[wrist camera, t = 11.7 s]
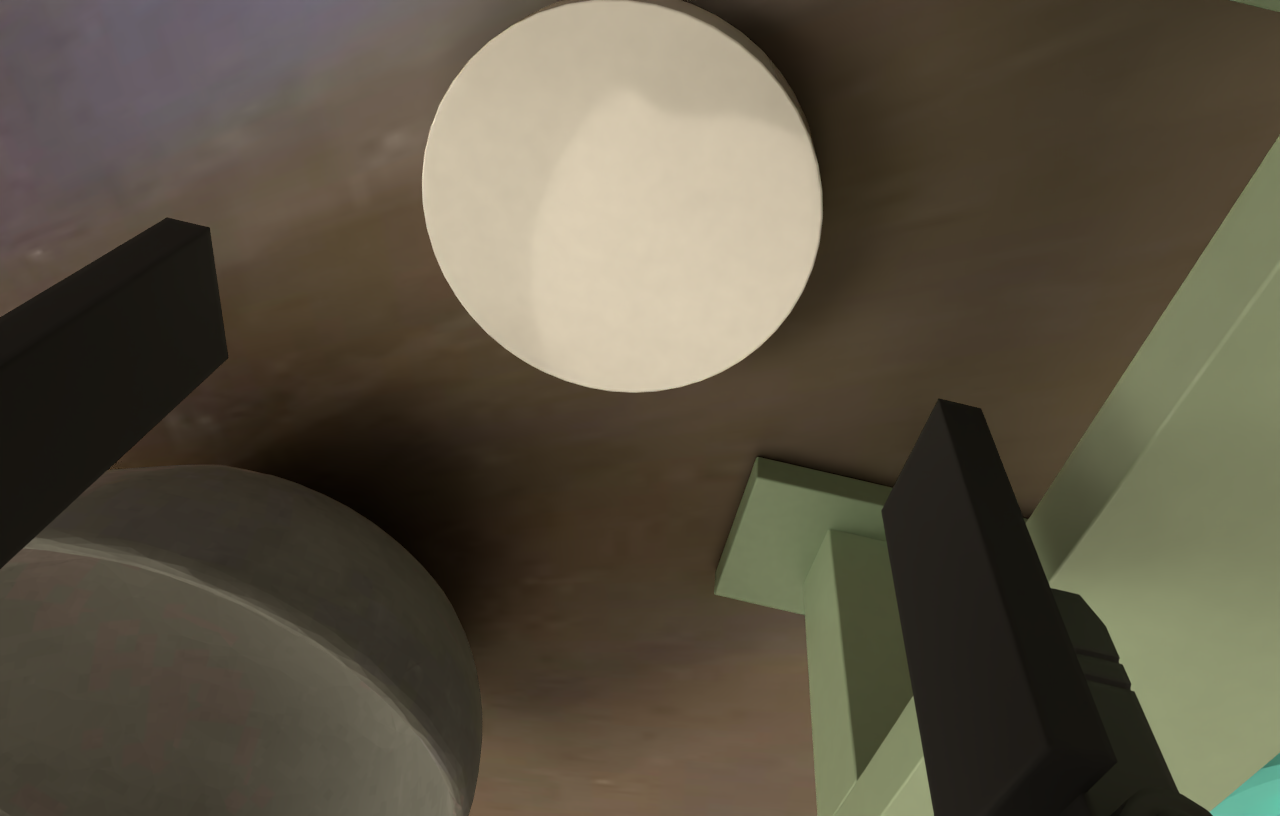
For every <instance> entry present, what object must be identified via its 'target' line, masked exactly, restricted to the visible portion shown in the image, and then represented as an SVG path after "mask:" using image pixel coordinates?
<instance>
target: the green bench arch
mask: <svg viewBox="0 0 1280 816" xmlns="http://www.w3.org/2000/svg"><path fill="white" fill-rule="evenodd" d="M1230 1H1234V2H1238V3H1243V4H1247V5H1251V6H1255V7H1260V8H1264V9H1268V10H1273V11H1277V12H1280V0H1230ZM892 489H893V488H891V487H887V486H883V485H878V484H874V483H870V482H865V481H861V480H857V479H852V478H848V477H844V476H839V475H835V474H831V473H826V472H822V471H818V470H813V469H809V468H805V467H800V466H796V465H792V464H787V463H783V462H778V461H774V460H770V459H765V458H761V457H757V458H756V460H755V463H754V466H753V469H752V471H751V474H750V477H749V480H748V483H747V485H746V488H745V491H744V494H743V497H742V499H741V502H740V505H739V508H738V511H737V513H736V516H735V519H734V522H733V525H732V527H731V530H730V533H729V536H728V539H727V541H726V544H725V547H724V550H723V553H722V555H721V558H720V561H719V564H718V567H717V569H716V572H715V589H714V593H715V595H719V596H723V597H728V598H732V599H736V600H741V601H745V602H750V603H754V604H758V605H763V606H767V607H771V608H776V609H780V610H784V611H789V612H793V613H798V614H802V615H805V624H806V640H807V656H808V672H809V688H810V703H811V719H812V735H813V751H814V767H815V782H816V798H817V814H818V816H934V812H933V807H932V801H931V795H930V789H929V783H928V778H927V772H926V766H925V760H924V755H923V749H922V743H921V737H920V732H919V726H918V720H917V714H916V709H915V703H914V697H913V691H912V686H911V680H910V674H909V668H908V662H907V657H906V651H905V645H904V639H903V634H902V628H901V622H900V616H899V611H898V605H897V599H896V593H895V588H894V582H893V576H892V570H891V564H890V559H889V553H888V547H887V541H886V536H885V530H884V524H883V518H882V513H881V510H882V508H883V506H884V504H885V502H886V500H887V499H888V497H889V495H890V493H891V491H892ZM1024 521H1025V523H1026V526H1027V529H1028V531H1029V534H1030V536H1031V539H1032V541H1033V544H1034V547H1035V549H1036V552H1037V554H1038V557H1039V560H1040V562H1041V565H1042V567H1043V570H1044V572H1045V575H1046V578H1047V580H1048V583H1049V585H1050V588H1053V589H1058V590H1062V591H1066V592H1070V593H1075V594H1079V595H1080V596H1081V597H1082V598H1083V599H1084V600H1085V602H1086V603H1087V604H1088V605H1089V606H1090V608H1091V609H1092V610H1093V611H1094V612H1095V614H1096V615H1097V616H1098V617H1099V618H1100V620H1101V621H1102V622H1103V623H1104V624H1105V626H1106V628H1107V630H1108V632H1109V634H1110V637H1111V639H1112V641H1113V643H1114V646H1115V648H1116V650H1117V653H1118V655H1119V657H1120V659H1119V664H1123V666H1124V668H1125V671H1126V673H1127V675H1128V678H1129V680H1130V682H1131V684H1132V685H1131V691H1135V693H1136V696H1137V698H1138V700H1139V703H1140V705H1141V707H1142V709H1143V712H1144V714H1145V716H1146V718H1147V721H1148V723H1149V725H1150V728H1151V730H1152V732H1153V734H1154V737H1155V739H1156V741H1157V743H1158V746H1159V748H1160V750H1161V753H1162V755H1163V757H1164V759H1165V762H1166V764H1167V766H1168V769H1169V771H1170V773H1171V775H1172V778H1173V780H1174V782H1175V784H1176V787H1177V789H1178V791H1179V793H1180V794H1183V795H1184V796H1186V797H1187V798H1189V799H1191V800H1192V801H1194V802H1195V803H1197V804H1198V805H1200V806H1202V807H1203V808H1205V809H1206V810H1207V811H1209V812H1210V811H1211V810H1212V809H1214V808H1215V807H1216V806H1217V805H1218V804H1219V803H1221V802H1222V801H1223V800H1224V799H1225V798H1227V797H1228V796H1229V795H1230V794H1231V793H1233V792H1234V791H1235V790H1236V789H1237V788H1238V787H1240V786H1241V785H1242V784H1243V783H1244V782H1246V781H1247V780H1248V779H1249V778H1250V777H1252V776H1253V775H1254V774H1255V773H1256V772H1257V771H1259V770H1260V769H1261V768H1262V767H1263V766H1265V765H1266V764H1267V763H1268V762H1269V761H1270V760H1272V759H1273V758H1274V757H1275V756H1276V755H1278V754H1279V753H1280V135H1279V137H1278V138H1277V140H1276V141H1275V143H1274V144H1273V146H1272V147H1271V149H1270V150H1269V152H1268V154H1267V155H1266V157H1265V158H1264V160H1263V161H1262V163H1261V164H1260V166H1259V167H1258V169H1257V170H1256V172H1255V173H1254V175H1253V176H1252V178H1251V180H1250V181H1249V183H1248V184H1247V186H1246V187H1245V189H1244V190H1243V192H1242V193H1241V195H1240V196H1239V198H1238V199H1237V201H1236V202H1235V204H1234V206H1233V207H1232V209H1231V210H1230V212H1229V213H1228V215H1227V216H1226V218H1225V219H1224V221H1223V222H1222V224H1221V225H1220V227H1219V228H1218V230H1217V232H1216V233H1215V235H1214V236H1213V238H1212V239H1211V241H1210V242H1209V244H1208V245H1207V247H1206V248H1205V250H1204V251H1203V253H1202V254H1201V256H1200V258H1199V259H1198V261H1197V262H1196V264H1195V265H1194V267H1193V268H1192V270H1191V271H1190V273H1189V274H1188V276H1187V277H1186V279H1185V280H1184V282H1183V284H1182V285H1181V287H1180V288H1179V290H1178V291H1177V293H1176V294H1175V296H1174V297H1173V299H1172V300H1171V302H1170V303H1169V305H1168V307H1167V308H1166V310H1165V311H1164V313H1163V314H1162V316H1161V317H1160V319H1159V320H1158V322H1157V323H1156V325H1155V326H1154V328H1153V329H1152V331H1151V333H1150V334H1149V336H1148V337H1147V339H1146V340H1145V342H1144V343H1143V345H1142V346H1141V348H1140V349H1139V351H1138V352H1137V354H1136V355H1135V357H1134V359H1133V360H1132V362H1131V363H1130V365H1129V366H1128V368H1127V369H1126V371H1125V372H1124V374H1123V375H1122V377H1121V378H1120V380H1119V381H1118V383H1117V385H1116V386H1115V388H1114V389H1113V391H1112V392H1111V394H1110V395H1109V397H1108V398H1107V400H1106V401H1105V403H1104V404H1103V406H1102V407H1101V409H1100V411H1099V412H1098V414H1097V415H1096V417H1095V418H1094V420H1093V421H1092V423H1091V424H1090V426H1089V427H1088V429H1087V430H1086V432H1085V433H1084V435H1083V437H1082V438H1081V440H1080V441H1079V443H1078V444H1077V446H1076V447H1075V449H1074V450H1073V452H1072V453H1071V455H1070V456H1069V458H1068V459H1067V461H1066V463H1065V464H1064V466H1063V467H1062V469H1061V470H1060V472H1059V473H1058V475H1057V476H1056V478H1055V479H1054V481H1053V482H1052V484H1051V486H1050V487H1049V489H1048V490H1047V492H1046V493H1045V495H1044V496H1043V498H1042V499H1041V501H1040V502H1039V504H1038V505H1037V507H1036V508H1035V510H1034V512H1033V513H1032V515H1031V516H1030V518H1029V519H1026V518H1024Z"/></svg>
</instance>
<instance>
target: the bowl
mask: <svg viewBox="0 0 1280 816" xmlns="http://www.w3.org/2000/svg"><path fill="white" fill-rule="evenodd" d="M481 744H482V706H481V694H480V687H479V681H478V676H477V671H476V667H475V663H474V659H473V655H472V652H471V649H470V646H469V643H468V640H467V637H466V634H465V632H464V629H463V627H462V625H461V623H460V621H459V619H458V617H457V615H456V613H455V611H454V608H453V606H452V605H451V603H450V601H449V600H448V598H447V597H446V595H445V593H444V592H443V590H442V589H441V588H440V586H439V585H438V584H437V583H436V581H435V580H434V579H433V577H432V576H431V575H430V574H429V573H428V572H427V571H426V569H425V568H424V567H423V566H422V565H421V564H420V563H419V562H418V561H417V560H416V559H415V558H414V557H413V556H412V555H411V554H410V553H409V552H408V551H407V550H406V549H405V548H404V547H403V546H402V545H401V544H399V543H398V542H397V541H396V540H394V539H393V538H392V537H391V536H390V535H388V534H387V533H386V532H384V531H383V530H382V529H381V528H379V527H378V526H377V525H375V524H374V523H373V522H371V521H370V520H368V519H366V518H365V517H363V516H362V515H360V514H359V513H357V512H355V511H354V510H352V509H351V508H349V507H347V506H345V505H343V504H341V503H340V502H338V501H336V500H334V499H332V498H330V497H328V496H326V495H324V494H321V493H319V492H317V491H314V490H312V489H310V488H307V487H305V486H303V485H300V484H298V483H295V482H292V481H289V480H286V479H283V478H280V477H277V476H274V475H269V474H263V473H259V472H255V471H251V470H246V469H241V468H236V467H231V466H226V465H175V466H160V467H143V468H128V469H116V470H107V471H106V472H105V473H104V474H103V475H101V476H100V477H99V478H98V479H97V480H96V481H95V482H94V483H93V484H92V485H91V486H90V487H89V488H87V489H86V490H85V491H84V492H83V493H82V494H81V495H80V496H79V497H78V498H77V499H76V500H75V501H73V502H72V503H71V504H70V505H69V506H68V507H67V508H66V509H65V510H64V511H63V512H62V513H61V514H59V515H58V516H57V517H56V518H55V519H54V520H53V521H52V522H51V523H50V524H49V525H48V526H47V527H45V528H44V529H43V530H42V531H41V532H40V533H39V534H38V535H37V536H36V537H35V538H34V539H32V540H31V541H30V542H29V543H28V544H27V545H26V546H25V547H24V548H23V549H22V550H21V551H20V552H18V553H17V554H16V555H15V556H14V557H13V558H12V559H11V560H10V561H9V562H8V563H7V564H6V565H4V566H3V567H2V568H1V569H0V816H468V815H469V812H470V809H471V805H472V802H473V798H474V793H475V788H476V782H477V777H478V771H479V763H480V754H481Z"/></svg>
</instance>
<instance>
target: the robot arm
mask: <svg viewBox="0 0 1280 816" xmlns="http://www.w3.org/2000/svg"><path fill="white" fill-rule="evenodd" d="M227 359H228V352H227V345H226V338H225V331H224V324H223V317H222V310H221V304H220V297H219V290H218V283H217V276H216V269H215V262H214V255H213V248H212V241H211V234H210V228H209V227H205V226H201V225H196V224H192V223H188V222H183V221H179V220H175V219H171V218H165V219H164V220H162V221H160V222H159V223H157V224H155V225H154V226H152V227H150V228H149V229H147V230H145V231H144V232H142V233H140V234H139V235H137V236H135V237H134V238H132V239H130V240H129V241H127V242H125V243H124V244H122V245H120V246H119V247H117V248H115V249H114V250H112V251H110V252H109V253H107V254H105V255H104V256H102V257H100V258H99V259H97V260H95V261H94V262H92V263H90V264H89V265H87V266H85V267H84V268H82V269H80V270H79V271H77V272H75V273H74V274H72V275H70V276H69V277H67V278H65V279H64V280H62V281H60V282H59V283H57V284H55V285H54V286H52V287H50V288H49V289H47V290H45V291H44V292H42V293H40V294H39V295H37V296H35V297H34V298H32V299H30V300H29V301H27V302H25V303H24V304H22V305H20V306H19V307H17V308H15V309H14V310H12V311H10V312H9V313H7V314H5V315H4V316H2V317H0V569H1V568H2V567H3V566H4V565H6V564H7V563H8V562H9V561H10V560H11V559H12V558H13V557H14V556H15V555H16V554H17V553H18V552H20V551H21V550H22V549H23V548H24V547H25V546H26V545H27V544H28V543H29V542H30V541H31V540H32V539H34V538H35V537H36V536H37V535H38V534H39V533H40V532H41V531H42V530H43V529H44V528H45V527H47V526H48V525H49V524H50V523H51V522H52V521H53V520H54V519H55V518H56V517H57V516H58V515H59V514H61V513H62V512H63V511H64V510H65V509H66V508H67V507H68V506H69V505H70V504H71V503H72V502H73V501H75V500H76V499H77V498H78V497H79V496H80V495H81V494H82V493H83V492H84V491H85V490H86V489H87V488H89V487H90V486H91V485H92V484H93V483H94V482H95V481H96V480H97V479H98V478H99V477H100V476H101V475H103V474H104V473H105V472H106V471H107V470H108V469H109V468H110V467H111V466H112V465H113V464H114V463H116V462H117V461H118V460H119V459H120V458H121V457H122V456H123V455H124V454H125V453H126V452H127V451H128V450H130V449H131V448H132V447H133V446H134V445H135V444H136V443H137V442H138V441H139V440H140V439H141V438H142V437H144V436H145V435H146V434H147V433H148V432H149V431H150V430H151V429H152V428H153V427H154V426H155V425H156V424H158V423H159V422H160V421H161V420H162V419H163V418H164V417H165V416H166V415H167V414H168V413H169V412H171V411H172V410H173V409H174V408H175V407H176V406H177V405H178V404H179V403H180V402H181V401H182V400H183V399H185V398H186V397H187V396H188V395H189V394H190V393H191V392H192V391H193V390H194V389H195V388H196V387H197V386H199V385H200V384H201V383H202V382H203V381H204V380H205V379H206V378H207V377H208V376H209V375H210V374H211V373H213V372H214V371H215V370H216V369H217V368H218V367H219V366H220V365H221V364H222V363H223V362H224V361H226V360H227ZM881 513H882V518H883V524H884V530H885V536H886V541H887V547H888V553H889V559H890V564H891V570H892V576H893V582H894V588H895V593H896V599H897V605H898V611H899V616H900V622H901V628H902V634H903V639H904V645H905V651H906V657H907V662H908V668H909V674H910V680H911V686H912V691H913V697H914V703H915V709H916V714H917V720H918V726H919V732H920V737H921V743H922V749H923V755H924V760H925V766H926V772H927V778H928V783H929V789H930V795H931V801H932V807H933V812H934V816H1213V815H1212V814H1211V813H1210V812H1209V811H1207V810H1206V809H1205V808H1203V807H1202V806H1200V805H1198V804H1197V803H1195V802H1194V801H1192V800H1191V799H1189V798H1187V797H1186V796H1184V795H1183V794H1180V793H1179V791H1178V789H1177V787H1176V784H1175V782H1174V780H1173V778H1172V775H1171V773H1170V771H1169V769H1168V766H1167V764H1166V762H1165V759H1164V757H1163V755H1162V753H1161V750H1160V748H1159V746H1158V743H1157V741H1156V739H1155V737H1154V734H1153V732H1152V730H1151V728H1150V725H1149V723H1148V721H1147V718H1146V716H1145V714H1144V712H1143V709H1142V707H1141V705H1140V703H1139V700H1138V698H1137V696H1136V693H1135V691H1131V685H1132V684H1131V682H1130V680H1129V678H1128V675H1127V673H1126V671H1125V668H1124V666H1123V664H1119V659H1120V657H1119V655H1118V653H1117V650H1116V648H1115V646H1114V643H1113V641H1112V639H1111V637H1110V634H1109V632H1108V630H1107V628H1106V626H1105V624H1104V623H1103V622H1102V621H1101V620H1100V618H1099V617H1098V616H1097V615H1096V614H1095V612H1094V611H1093V610H1092V609H1091V608H1090V606H1089V605H1088V604H1087V603H1086V602H1085V600H1084V599H1083V598H1082V597H1081V596H1080V595H1079V594H1075V593H1070V592H1066V591H1062V590H1058V589H1053V588H1050V585H1049V583H1048V580H1047V578H1046V575H1045V572H1044V570H1043V567H1042V565H1041V562H1040V560H1039V557H1038V554H1037V552H1036V549H1035V547H1034V544H1033V541H1032V539H1031V536H1030V534H1029V531H1028V529H1027V526H1026V523H1025V521H1024V518H1023V516H1022V513H1021V510H1020V508H1019V505H1018V503H1017V500H1016V498H1015V495H1014V492H1013V490H1012V487H1011V485H1010V482H1009V479H1008V477H1007V474H1006V472H1005V469H1004V467H1003V464H1002V461H1001V459H1000V456H999V454H998V451H997V448H996V446H995V443H994V441H993V438H992V436H991V433H990V430H989V428H988V425H987V423H986V420H985V417H984V415H983V412H982V410H981V408H977V407H972V406H968V405H964V404H960V403H955V402H951V401H947V400H942V399H938V401H937V403H936V405H935V407H934V409H933V411H932V412H931V414H930V416H929V418H928V420H927V422H926V424H925V426H924V428H923V430H922V432H921V434H920V436H919V438H918V440H917V442H916V444H915V446H914V448H913V450H912V452H911V454H910V455H909V457H908V459H907V461H906V463H905V465H904V467H903V469H902V471H901V473H900V475H899V477H898V479H897V481H896V483H895V485H894V487H893V489H892V491H891V493H890V495H889V497H888V499H887V500H886V502H885V504H884V506H883V508H882V510H881Z"/></svg>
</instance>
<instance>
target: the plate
mask: <svg viewBox="0 0 1280 816" xmlns="http://www.w3.org/2000/svg"><path fill="white" fill-rule="evenodd" d="M422 195H423V208H424V214H425V220H426V226H427V231H428V234H429V237H430V241H431V244H432V247H433V251H434V254H435V256H436V258H437V261H438V263H439V265H440V267H441V270H442V272H443V274H444V276H445V278H446V280H447V281H448V283H449V285H450V287H451V288H452V290H453V292H454V293H455V295H456V297H457V298H458V299H459V301H460V302H461V303H462V305H463V306H464V307H465V309H466V310H467V311H468V313H469V314H470V315H471V317H472V318H473V319H474V320H475V321H476V322H477V323H478V324H479V325H480V326H481V327H482V328H483V329H484V330H485V331H486V332H487V333H488V334H489V335H490V336H491V337H492V338H493V339H495V340H496V341H497V342H498V343H499V344H500V345H502V346H503V347H504V348H505V349H507V350H508V351H510V352H511V353H512V354H514V355H515V356H517V357H518V358H520V359H521V360H523V361H524V362H526V363H528V364H530V365H532V366H533V367H535V368H537V369H539V370H541V371H543V372H545V373H547V374H550V375H552V376H555V377H557V378H560V379H562V380H565V381H567V382H571V383H574V384H578V385H581V386H585V387H588V388H594V389H600V390H606V391H614V392H631V393H636V392H655V391H662V390H668V389H674V388H679V387H683V386H686V385H689V384H693V383H696V382H700V381H702V380H705V379H707V378H709V377H712V376H714V375H716V374H719V373H721V372H723V371H725V370H726V369H728V368H730V367H732V366H733V365H735V364H737V363H738V362H740V361H742V360H743V359H744V358H746V357H747V356H748V355H750V354H751V353H752V352H754V351H755V350H756V349H758V348H759V347H760V346H761V345H762V344H763V343H764V342H765V341H766V340H767V339H768V338H769V337H770V336H771V335H772V334H773V333H774V332H775V331H776V330H777V329H778V328H779V327H780V325H781V324H782V323H783V322H784V320H785V319H786V318H787V316H788V315H789V314H790V313H791V311H792V310H793V308H794V306H795V305H796V303H797V301H798V299H799V298H800V296H801V294H802V293H803V291H804V289H805V286H806V284H807V282H808V279H809V277H810V274H811V272H812V270H813V267H814V263H815V259H816V256H817V252H818V248H819V244H820V237H821V229H822V221H823V191H822V184H821V178H820V172H819V165H818V160H817V155H816V150H815V146H814V142H813V139H812V136H811V132H810V129H809V126H808V122H807V119H806V117H805V115H804V113H803V110H802V108H801V106H800V104H799V102H798V100H797V97H796V95H795V94H794V92H793V90H792V89H791V87H790V86H789V84H788V83H787V81H786V80H785V78H784V76H783V75H782V73H781V72H780V71H779V69H778V68H777V67H776V66H775V65H774V64H773V62H772V61H771V60H770V59H769V58H768V57H767V55H766V54H765V53H764V52H763V51H762V50H761V49H760V48H759V47H758V46H757V45H756V44H754V43H753V42H752V41H751V40H750V39H749V38H748V37H747V36H745V35H744V34H743V33H742V32H741V31H739V30H738V29H736V28H735V27H733V26H732V25H730V24H729V23H727V22H726V21H724V20H723V19H721V18H720V17H718V16H716V15H714V14H712V13H710V12H708V11H706V10H704V9H702V8H699V7H697V6H695V5H693V4H691V3H688V2H684V1H681V0H562V1H559V2H555V3H553V4H551V5H548V6H546V7H544V8H542V9H540V10H538V11H536V12H534V13H532V14H530V15H528V16H526V17H525V18H523V19H522V20H520V21H518V22H517V23H515V24H513V25H512V26H510V27H509V28H508V29H506V30H505V31H503V32H502V33H500V34H499V35H497V36H496V37H494V38H493V39H492V40H490V41H489V42H488V43H487V44H486V45H485V46H484V47H482V48H481V49H480V50H479V51H478V52H477V53H476V54H475V55H474V56H473V57H472V58H471V59H470V60H469V61H468V62H467V64H466V65H465V66H464V67H463V69H462V70H461V71H460V72H459V74H458V75H457V76H456V78H455V79H454V80H453V81H452V83H451V85H450V87H449V89H448V90H447V92H446V94H445V96H444V97H443V99H442V101H441V103H440V104H439V107H438V110H437V112H436V115H435V117H434V120H433V122H432V125H431V128H430V131H429V135H428V140H427V144H426V148H425V153H424V161H423V172H422Z"/></svg>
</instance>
